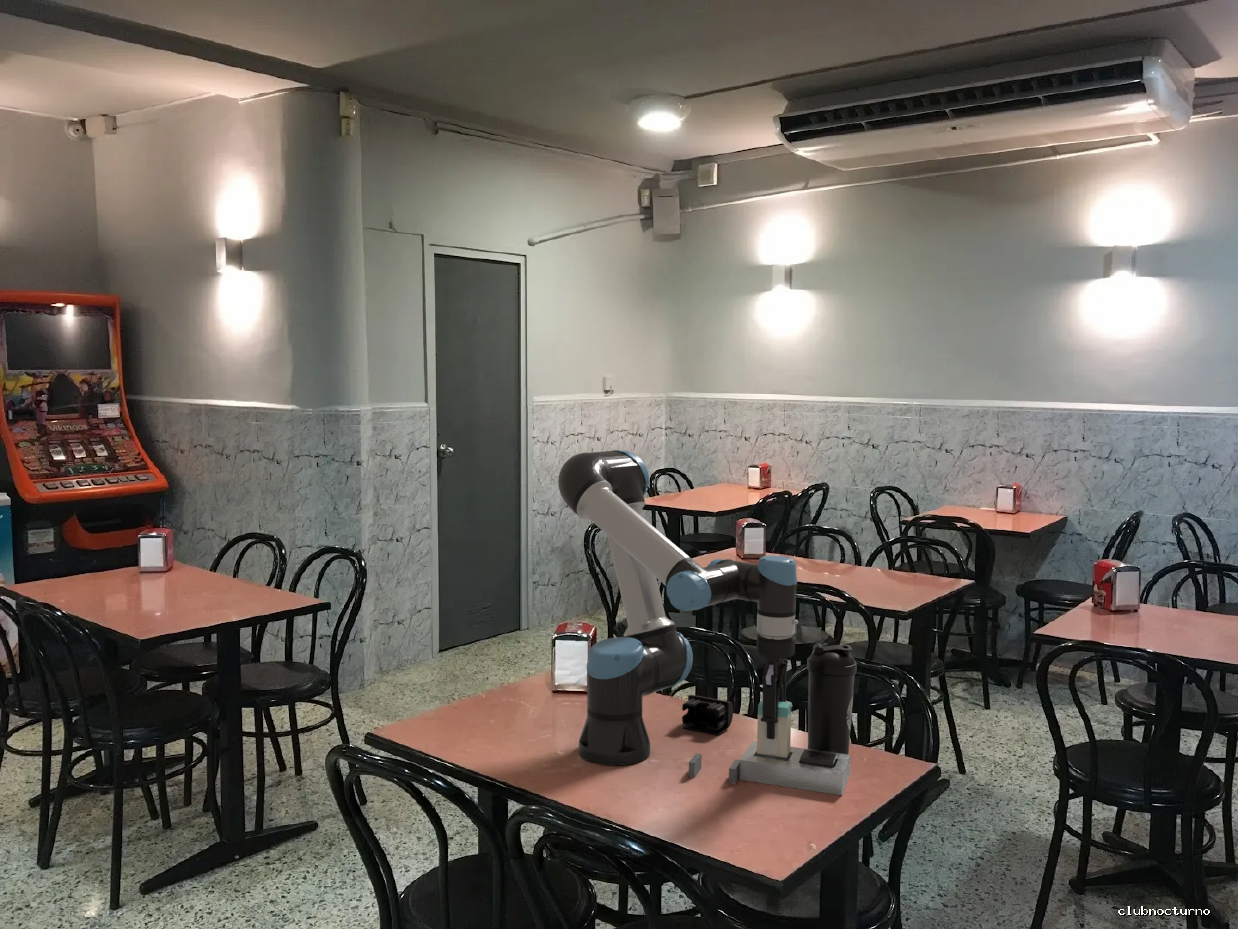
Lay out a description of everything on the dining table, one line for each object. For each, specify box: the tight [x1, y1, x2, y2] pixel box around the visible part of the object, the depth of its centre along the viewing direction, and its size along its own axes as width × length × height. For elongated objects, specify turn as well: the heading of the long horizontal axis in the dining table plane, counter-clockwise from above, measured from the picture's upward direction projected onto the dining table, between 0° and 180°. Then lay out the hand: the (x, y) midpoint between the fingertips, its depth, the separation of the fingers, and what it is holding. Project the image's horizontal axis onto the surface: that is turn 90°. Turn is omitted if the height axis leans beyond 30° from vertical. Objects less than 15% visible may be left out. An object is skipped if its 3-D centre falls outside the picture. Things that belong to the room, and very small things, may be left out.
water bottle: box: [806, 642, 858, 755], centre depth 208 cm, size 10×10×23 cm
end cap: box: [681, 694, 734, 737], centre depth 223 cm, size 10×7×7 cm
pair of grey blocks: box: [688, 752, 740, 785], centre depth 196 cm, size 9×5×3 cm, turn 69°
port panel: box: [738, 740, 852, 796], centre depth 196 cm, size 20×11×5 cm, turn 69°
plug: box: [756, 698, 792, 758], centre depth 197 cm, size 6×4×10 cm, turn 69°
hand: (773, 749), depth 197 cm, fingers closed on plug, 3 cm apart
